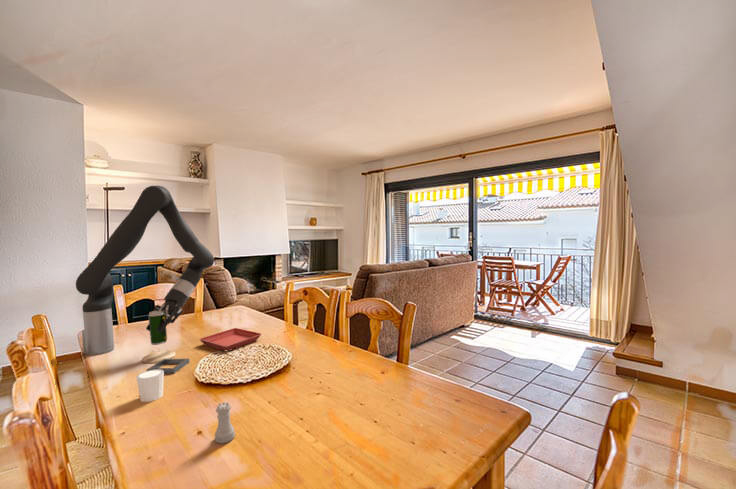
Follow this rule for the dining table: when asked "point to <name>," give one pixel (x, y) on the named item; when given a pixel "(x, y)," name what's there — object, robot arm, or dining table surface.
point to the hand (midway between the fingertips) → (153, 330)
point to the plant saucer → (230, 339)
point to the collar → (173, 370)
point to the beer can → (154, 322)
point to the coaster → (158, 356)
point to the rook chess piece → (224, 424)
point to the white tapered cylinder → (150, 385)
